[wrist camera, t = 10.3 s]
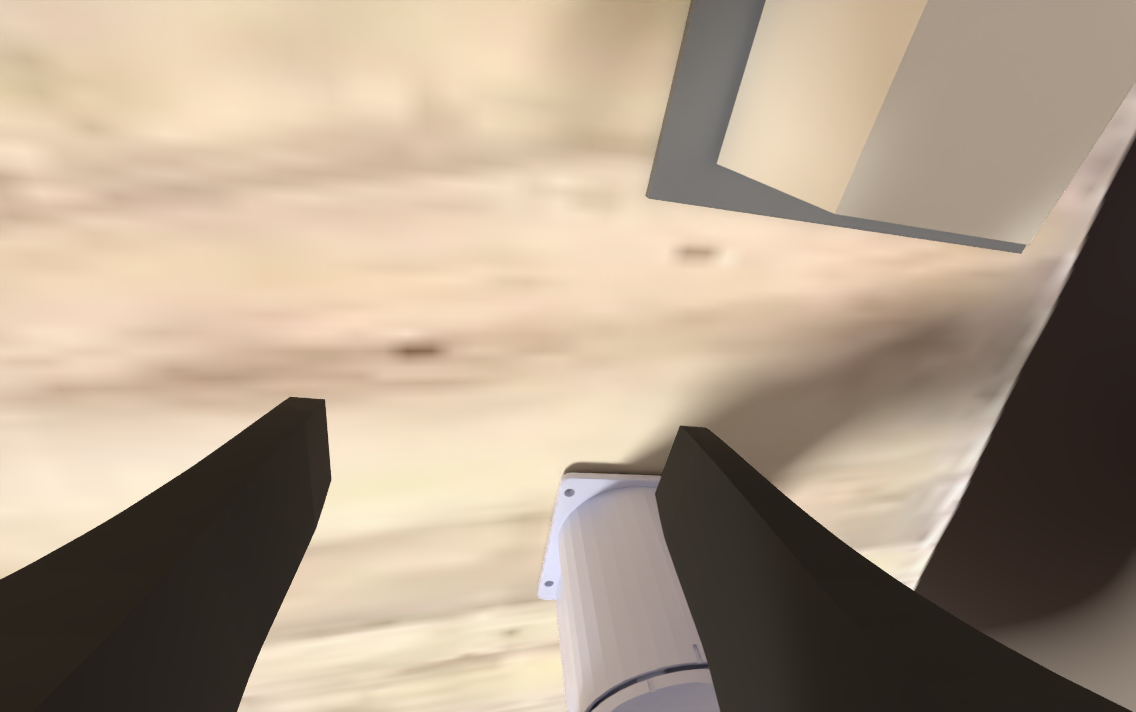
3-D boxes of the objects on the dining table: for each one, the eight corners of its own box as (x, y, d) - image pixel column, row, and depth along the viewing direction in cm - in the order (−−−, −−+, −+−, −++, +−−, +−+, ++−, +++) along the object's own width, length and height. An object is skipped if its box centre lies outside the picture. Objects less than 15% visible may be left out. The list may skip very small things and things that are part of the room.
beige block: (852, 187, 17) (1028, 244, 11) (716, 163, 16) (834, 213, 10) (931, 8, 14) (1211, -33, 9) (775, -33, 13) (975, -110, 8)
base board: (1012, 250, 20) (1021, 253, 20) (645, 195, 17) (648, 198, 17) (1207, -59, 15) (1223, -61, 15) (740, -210, 12) (747, -218, 12)
